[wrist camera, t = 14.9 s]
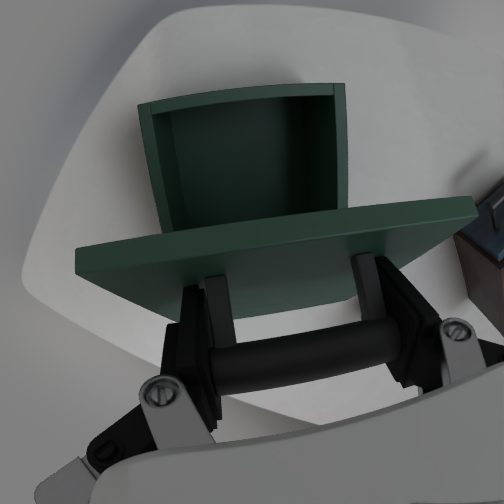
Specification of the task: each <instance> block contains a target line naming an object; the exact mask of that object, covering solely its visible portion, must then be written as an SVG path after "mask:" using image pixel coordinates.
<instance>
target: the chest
mask: <svg viewBox="0 0 504 504" xmlns="http://www.w3.org/2000/svg"><path fill="white" fill-rule="evenodd" d="M137 107H138V113H139V120H140V126H141V131H142V137H143V143H144V148H145V154H146V159H147V164H148V169H149V174H150V179H151V184H152V189H153V194H154V198H155V203H156V207H157V212H158V216H159V221H160V225H161V229H162V233H169V232H175V231H181V230H188V229H194V228H201V227H208V226H215V225H221V224H228V223H235V222H242V221H249V220H257V219H264V218H271V217H279V216H286V215H294V214H302V213H310V212H318V211H326V210H334V209H343V208H348V139H347V112H346V94H345V83H303V84H281V85H267V86H254V87H244V88H235V89H226V90H218V91H211V92H204V93H197V94H191V95H185V96H179V97H174V98H168V99H163V100H158V101H153V102H148V103H144V104H139V105H138V106H137Z"/></svg>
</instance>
